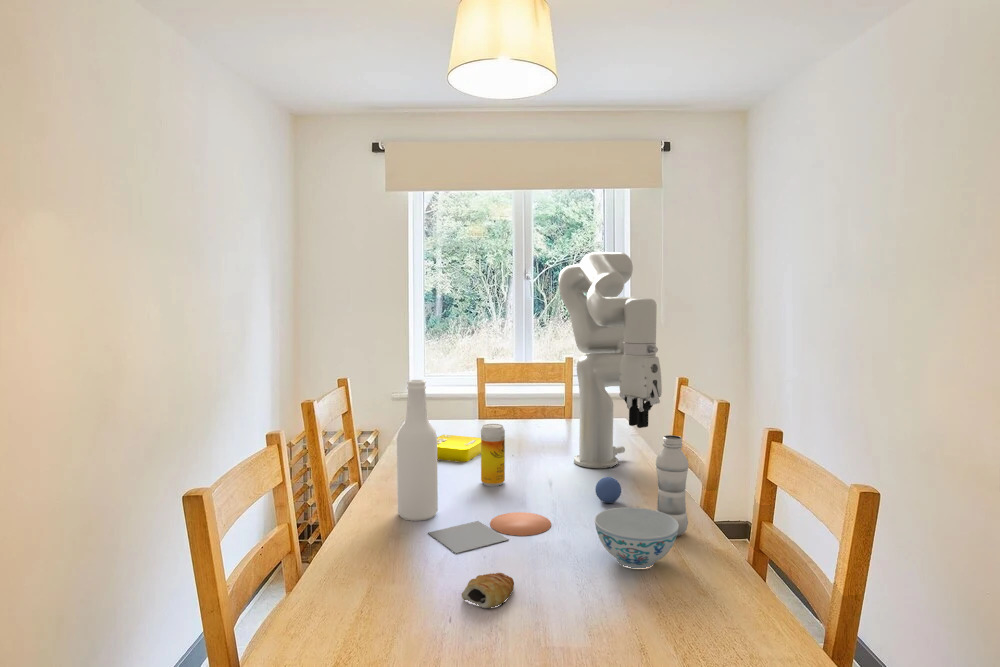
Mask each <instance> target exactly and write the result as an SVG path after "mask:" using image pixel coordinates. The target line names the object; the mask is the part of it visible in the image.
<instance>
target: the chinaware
mask: <svg viewBox="0 0 1000 667" xmlns="http://www.w3.org/2000/svg"><path fill="white" fill-rule="evenodd" d="M594 524H595V530H596V533H597V535H598V538H599V541H600V542H601V544H602V545H603V547H604V548H605V550H606V551H607V552H608V553H609V554H610V555H611V556H612V557H613V558H615V559H616V562H617V561H618V562H619V563H620V564H621V565H624V566H628V567H631V568H646V567H650V566H652V565H653V564H654V565H655V563H656V562H658V561H660V560H661V559H663V558H664V557H665V556H666V555H667V554H668V553H669V552H670V550H671V549H672V547H673V546H674V544H675V542H676V539H677V537H678V536H677V533H678V529H679V524H678V522H677V521H676V520H675V519H674V518H672V517H671V516H669V515H667V514H664V513H662V512H658V511H656V510H655V509H650V508H649V509H648V508H641V507H629V506H626V507H614V508H609V509H606V510H603V511H600V512H599V513H598V514H596V515H595V518H594ZM618 562H617V563H618ZM621 565H620V566H621Z"/></svg>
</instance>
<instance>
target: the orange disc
mask: <svg viewBox="0 0 1000 667" xmlns="http://www.w3.org/2000/svg"><path fill="white" fill-rule="evenodd" d="M489 524H490V527H491V529H492V530H494V531H495V530H496V532H497V533H499V534H503V535H507V534H509V536H514V535H517V537H518V536H519V537H526V536H527V535H529V536H534V535H535V534H536V535H539V533H540V534H543V533H544V532H547V531H549V529H551V526H552V522H551V520H550V519H549V518H548V517H546V516H543V515H541V514H538V513H533V512H527V511H526V512H525V511H524V512H523V511H521V512H520V511H519V512H518V511H517V512H515V511H514V512H505V513H502V514H499V515H496V516H494V517H493V518H491V520H490V521H489ZM542 532H543V533H542Z"/></svg>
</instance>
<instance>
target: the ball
mask: <svg viewBox="0 0 1000 667" xmlns="http://www.w3.org/2000/svg"><path fill="white" fill-rule="evenodd" d="M594 491H595V494H596V497H597V498H598V499H599V500H600V501H601V502H603V503H606V504H613V503H615V502H617V501H618V500H619V499H620V497H621V495H622V486H621V484H620V482H619V481H618V480H617V479H616V478H614V477H613V476H605V477H602V478H600V479H599V480H598V481H597V483H596V485H595V490H594Z"/></svg>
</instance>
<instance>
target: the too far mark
mask: <svg viewBox="0 0 1000 667" xmlns="http://www.w3.org/2000/svg"><path fill="white" fill-rule="evenodd" d="M427 534H428V535H429V536H431V537H432V538H433V539H434V540H436V541H437V540H438V541H437V542H439V543H440V542H441V543H442V545H443V546H444V547H446V548H447V549H448V548H449V549H448V550H450V551H451V552H452V551H453V552H452V553H454V554H455V553H456V555H457V553H459V554H462V553H465V552H470V551H473V550H477V548H478V549H481V548H480V547H482V548H485V547H488V546H487V545H489V546H492V545H491V544H493V545H496V544H495V543H497V544H500V543H499V542H501V543H504V542H503V541H505V542H508V541H507V540H510V539H509V538H507V537H506V536H504V535H502V533H500V532H497V531H495V530H494V529H493V528H492V527H491V528H490V527H489V526H487V525H485V524H484V523H482V522H481V521H479V520H476V521H472V522H467V523H464V524H458V525H455V526H450V527H446V528H442V529H438V530H437V529H436V530H433V531H429V532H427ZM441 543H440V544H441ZM484 546H485V547H484Z"/></svg>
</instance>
